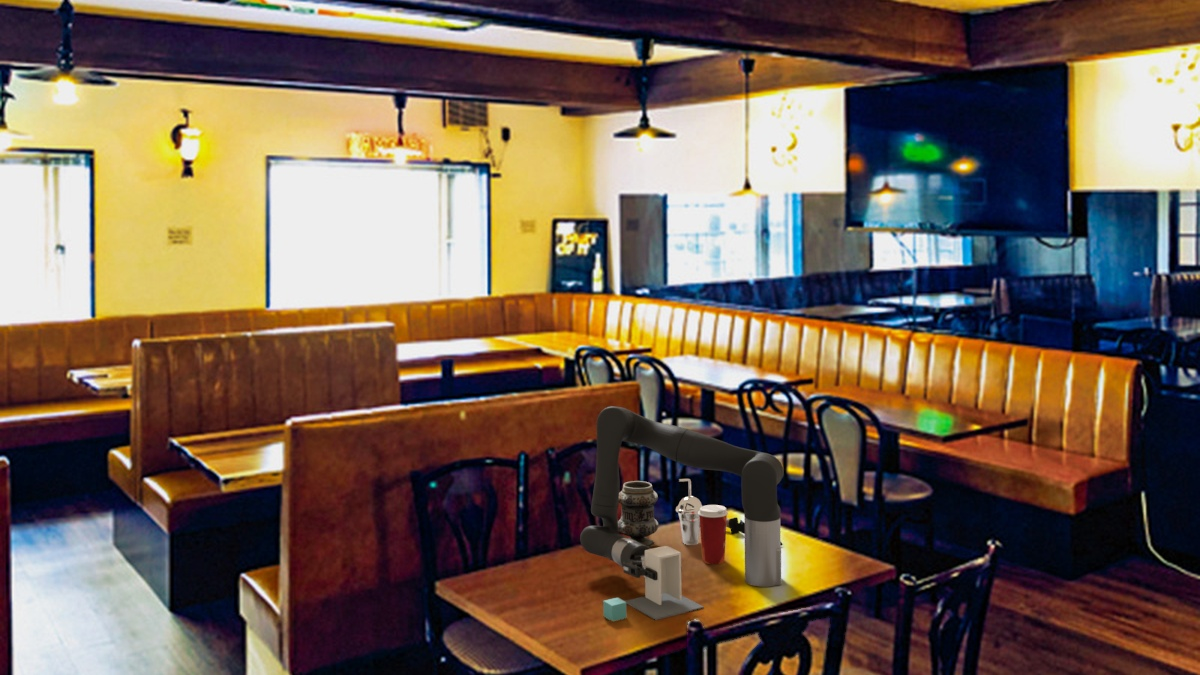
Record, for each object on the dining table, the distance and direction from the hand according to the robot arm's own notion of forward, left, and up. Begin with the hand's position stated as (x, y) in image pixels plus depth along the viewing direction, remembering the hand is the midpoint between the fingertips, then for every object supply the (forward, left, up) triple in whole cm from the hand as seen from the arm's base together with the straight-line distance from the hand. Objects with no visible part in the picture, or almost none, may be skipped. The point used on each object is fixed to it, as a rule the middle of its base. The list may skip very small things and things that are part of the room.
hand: (668, 573), depth 263 cm
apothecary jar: (+12, -50, -9) cm, 53 cm away
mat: (+1, -2, -9) cm, 9 cm away
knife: (-19, -60, -9) cm, 64 cm away
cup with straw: (-3, -52, -9) cm, 53 cm away
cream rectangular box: (+1, -2, -7) cm, 7 cm away
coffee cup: (-10, -36, -9) cm, 39 cm away
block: (+13, +7, -9) cm, 17 cm away
